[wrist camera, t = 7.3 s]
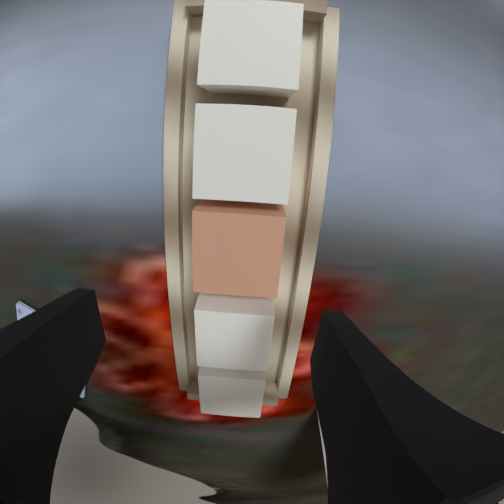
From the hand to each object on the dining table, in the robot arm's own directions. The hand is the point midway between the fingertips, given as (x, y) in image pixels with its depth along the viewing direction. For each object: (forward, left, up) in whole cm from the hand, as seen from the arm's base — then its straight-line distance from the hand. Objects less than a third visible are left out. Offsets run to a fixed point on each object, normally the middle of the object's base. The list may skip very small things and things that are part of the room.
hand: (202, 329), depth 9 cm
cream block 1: (+9, +3, -9) cm, 13 cm away
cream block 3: (-4, -2, -9) cm, 10 cm away
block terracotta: (0, -1, -9) cm, 9 cm away
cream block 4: (-9, -4, -9) cm, 13 cm away
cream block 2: (+5, +1, -9) cm, 10 cm away
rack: (0, -1, -10) cm, 10 cm away
